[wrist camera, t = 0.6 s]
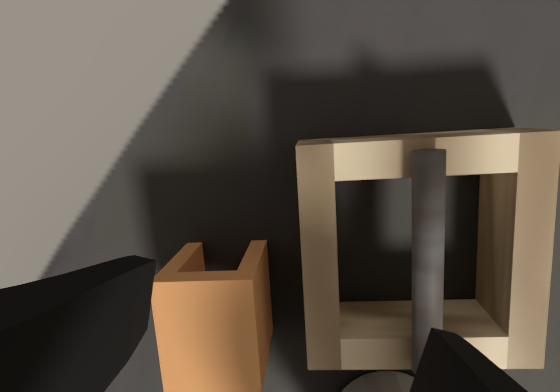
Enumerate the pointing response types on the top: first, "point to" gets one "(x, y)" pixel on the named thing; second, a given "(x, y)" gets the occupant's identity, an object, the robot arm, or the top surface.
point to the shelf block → (435, 246)
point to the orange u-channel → (213, 322)
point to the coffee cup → (381, 382)
